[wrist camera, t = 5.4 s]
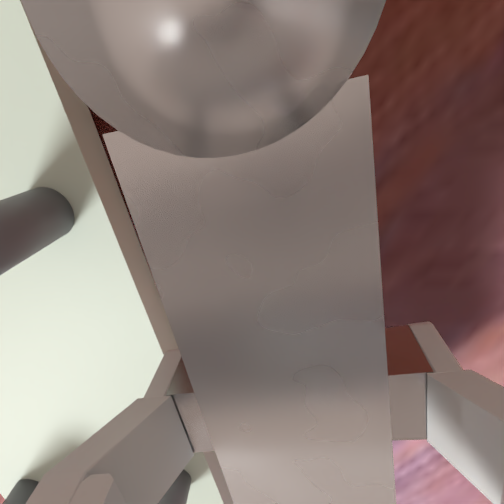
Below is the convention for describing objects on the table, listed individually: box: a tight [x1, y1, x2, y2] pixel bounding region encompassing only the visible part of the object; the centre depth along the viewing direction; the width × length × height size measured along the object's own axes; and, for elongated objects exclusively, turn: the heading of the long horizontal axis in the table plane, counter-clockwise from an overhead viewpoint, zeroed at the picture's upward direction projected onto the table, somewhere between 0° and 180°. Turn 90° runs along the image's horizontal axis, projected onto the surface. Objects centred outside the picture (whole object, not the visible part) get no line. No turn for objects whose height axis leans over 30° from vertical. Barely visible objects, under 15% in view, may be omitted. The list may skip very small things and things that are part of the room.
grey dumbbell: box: [21, 0, 396, 504], centre depth 8 cm, size 4×19×4 cm, turn 12°
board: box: [0, 0, 234, 504], centre depth 14 cm, size 12×28×6 cm, turn 13°
